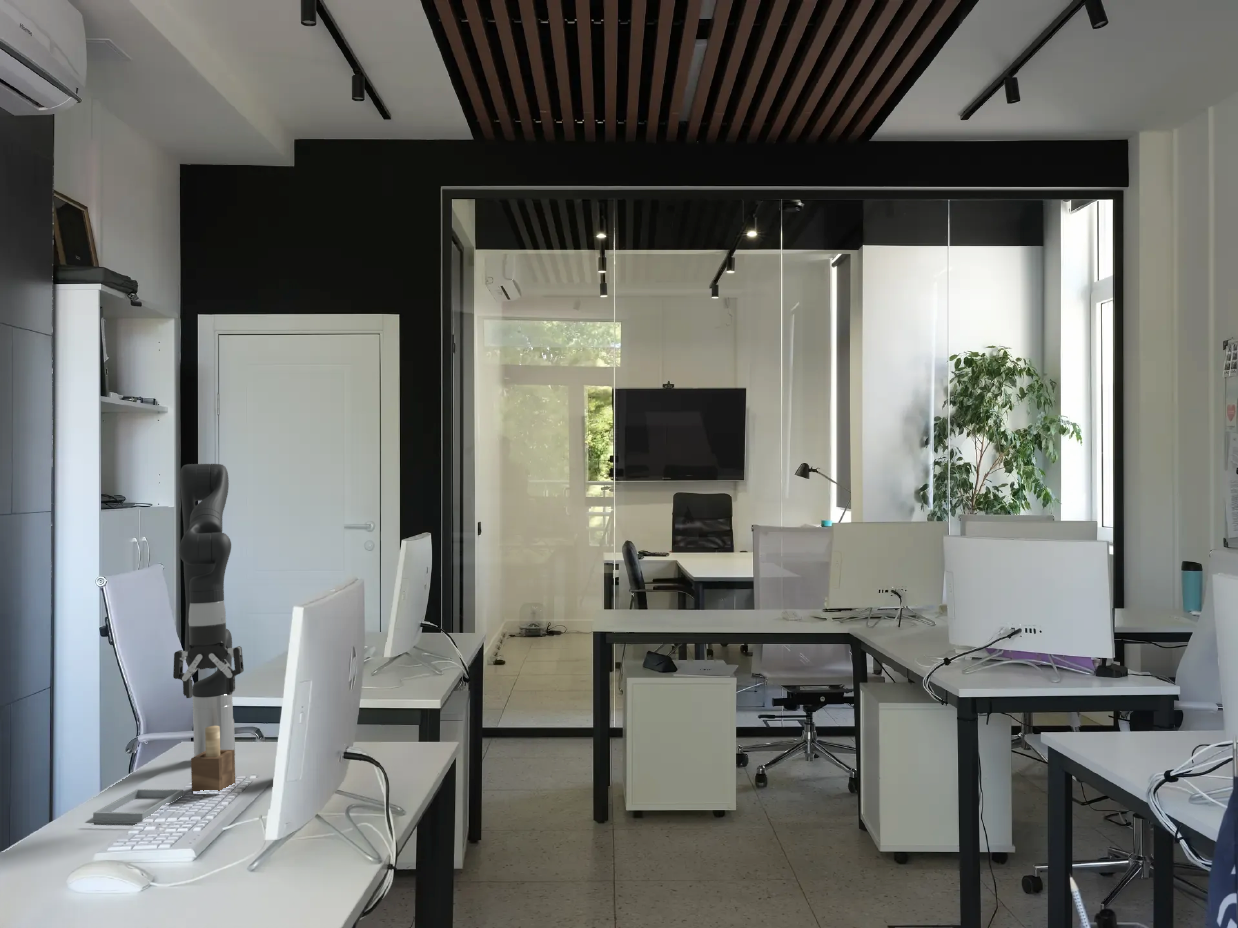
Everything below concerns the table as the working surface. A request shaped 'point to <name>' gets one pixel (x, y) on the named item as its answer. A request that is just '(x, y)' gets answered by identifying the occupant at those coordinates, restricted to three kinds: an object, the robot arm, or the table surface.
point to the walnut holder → (213, 771)
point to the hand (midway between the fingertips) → (209, 695)
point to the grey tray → (108, 815)
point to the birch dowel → (212, 741)
